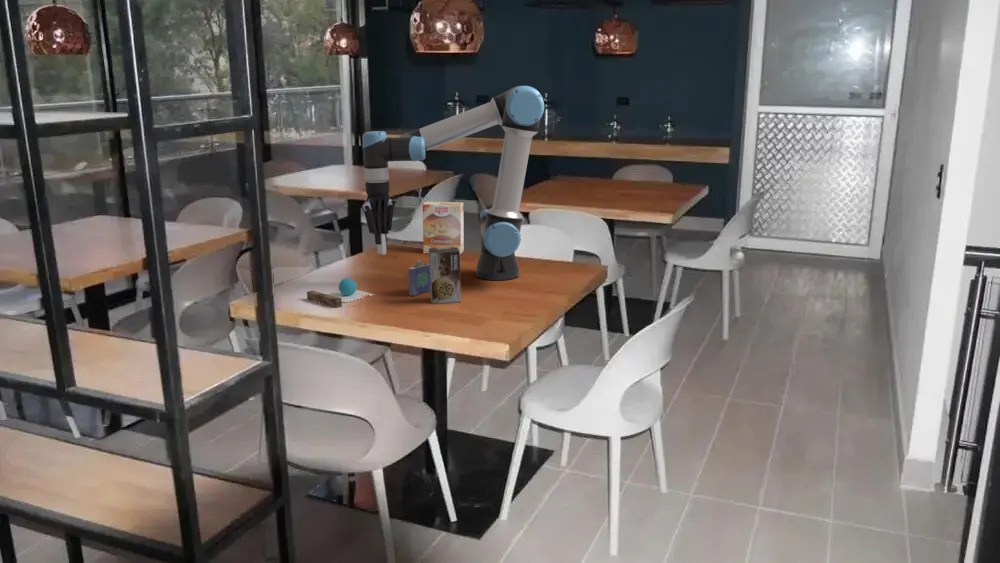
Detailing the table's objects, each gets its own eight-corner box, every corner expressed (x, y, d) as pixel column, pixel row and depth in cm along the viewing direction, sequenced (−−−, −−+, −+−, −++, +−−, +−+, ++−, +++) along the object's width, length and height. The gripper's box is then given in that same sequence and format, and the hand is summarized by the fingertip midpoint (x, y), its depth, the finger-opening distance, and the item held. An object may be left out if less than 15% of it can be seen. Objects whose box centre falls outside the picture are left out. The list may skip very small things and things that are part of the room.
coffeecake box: (423, 253, 315) (422, 203, 310) (426, 249, 322) (425, 201, 317) (461, 254, 314) (460, 204, 309) (464, 251, 320) (463, 201, 316)
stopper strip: (341, 306, 244) (341, 298, 243) (336, 307, 242) (336, 299, 242) (312, 298, 253) (312, 290, 252) (307, 299, 251) (306, 291, 250)
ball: (357, 298, 256) (361, 281, 256) (344, 295, 251) (349, 278, 252) (346, 295, 259) (350, 278, 259) (333, 292, 255) (337, 275, 255)
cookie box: (458, 297, 255) (458, 246, 251) (461, 302, 249) (460, 251, 245) (429, 298, 253) (428, 247, 249) (431, 303, 247) (430, 252, 243)
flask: (412, 296, 255) (411, 263, 252) (406, 295, 257) (405, 262, 254) (433, 291, 262) (432, 258, 259) (426, 289, 263) (426, 257, 261)
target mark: (374, 295, 256) (374, 294, 256) (345, 303, 247) (345, 302, 247) (349, 288, 264) (349, 288, 264) (320, 296, 255) (320, 295, 255)
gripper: (384, 177, 265) (388, 248, 271) (353, 182, 255) (358, 256, 261) (400, 179, 260) (404, 251, 266) (369, 184, 250) (374, 258, 256)
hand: (381, 253), depth 263 cm, fingers closed
